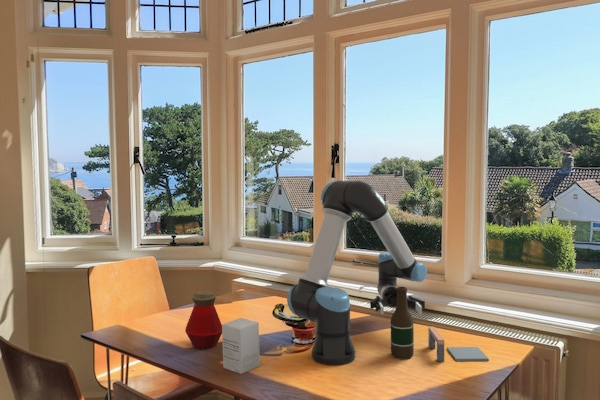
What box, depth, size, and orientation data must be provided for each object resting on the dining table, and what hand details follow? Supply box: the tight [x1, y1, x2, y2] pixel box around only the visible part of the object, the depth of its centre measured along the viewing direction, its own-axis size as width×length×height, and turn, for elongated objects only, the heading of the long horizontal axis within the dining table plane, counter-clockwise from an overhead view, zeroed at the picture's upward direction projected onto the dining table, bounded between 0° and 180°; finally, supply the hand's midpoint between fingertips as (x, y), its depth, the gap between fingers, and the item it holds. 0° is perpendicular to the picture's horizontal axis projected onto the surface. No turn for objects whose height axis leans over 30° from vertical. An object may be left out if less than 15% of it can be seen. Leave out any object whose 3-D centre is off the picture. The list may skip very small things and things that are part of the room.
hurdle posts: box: [427, 331, 445, 363], centre depth 172 cm, size 2×14×6 cm, turn 179°
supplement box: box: [221, 317, 261, 375], centre depth 163 cm, size 9×9×15 cm
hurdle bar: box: [427, 326, 445, 345], centre depth 172 cm, size 2×14×2 cm, turn 178°
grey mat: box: [446, 346, 490, 362], centre depth 171 cm, size 11×11×1 cm
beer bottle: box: [390, 286, 415, 360], centre depth 171 cm, size 8×8×24 cm
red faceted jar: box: [185, 290, 223, 350], centre depth 185 cm, size 16×14×20 cm
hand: (401, 310), depth 176 cm, fingers open, 13 cm apart
